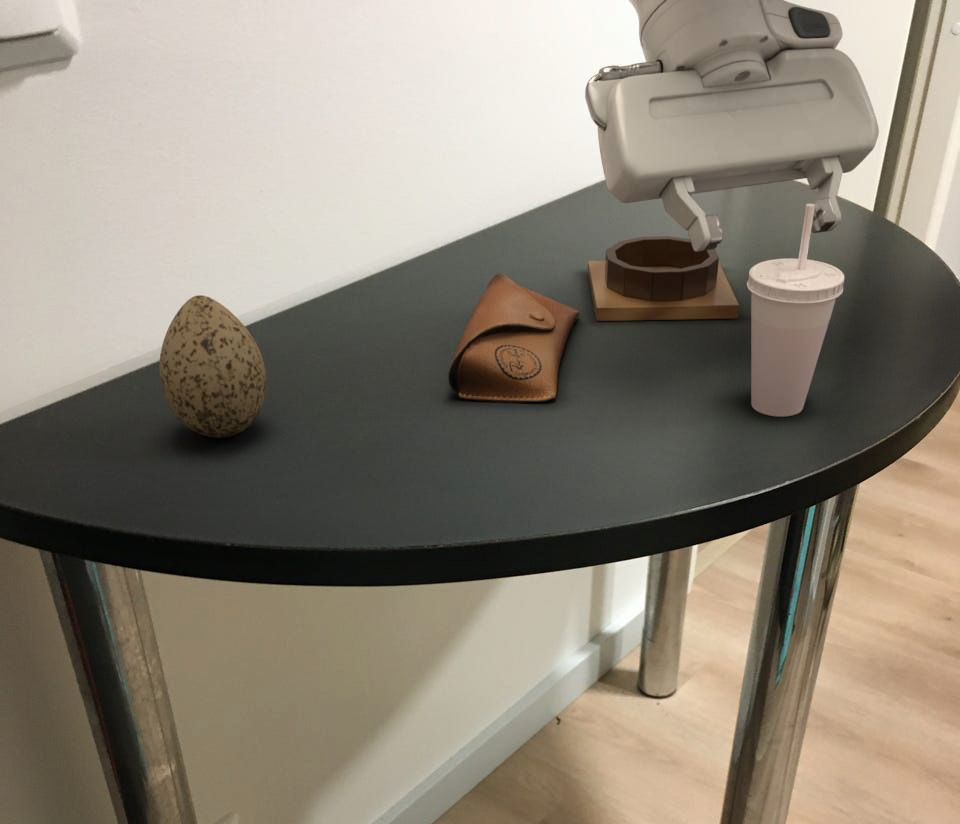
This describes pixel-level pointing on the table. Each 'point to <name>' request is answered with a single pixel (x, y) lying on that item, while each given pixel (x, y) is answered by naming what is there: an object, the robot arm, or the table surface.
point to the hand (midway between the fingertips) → (769, 237)
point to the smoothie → (789, 325)
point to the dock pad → (660, 282)
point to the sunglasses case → (511, 346)
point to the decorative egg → (212, 370)
